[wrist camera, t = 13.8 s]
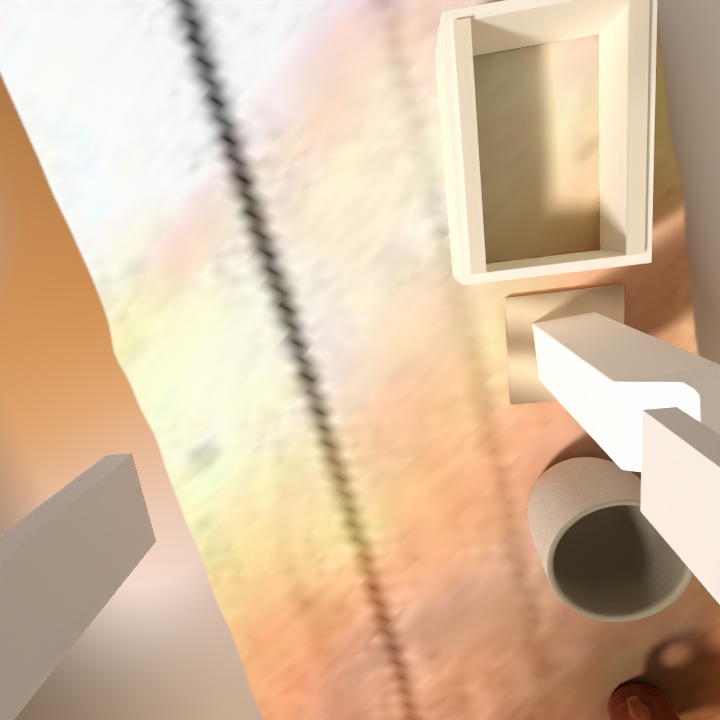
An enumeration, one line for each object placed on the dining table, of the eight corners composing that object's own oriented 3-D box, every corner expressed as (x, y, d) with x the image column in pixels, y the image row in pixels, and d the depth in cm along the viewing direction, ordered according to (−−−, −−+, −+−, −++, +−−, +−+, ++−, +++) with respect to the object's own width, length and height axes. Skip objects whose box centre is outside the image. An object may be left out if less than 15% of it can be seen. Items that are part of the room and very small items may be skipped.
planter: (576, 420, 49) (623, 472, 39) (662, 491, 51) (730, 559, 40) (493, 500, 53) (516, 567, 42) (576, 565, 54) (618, 645, 43)
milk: (538, 379, 48) (642, 499, 27) (531, 321, 47) (635, 400, 25) (601, 369, 47) (760, 484, 26) (596, 310, 46) (760, 380, 24)
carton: (434, 52, 42) (442, 9, 34) (609, 21, 40) (661, -32, 32) (452, 276, 47) (463, 285, 39) (608, 257, 45) (654, 263, 37)
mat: (504, 297, 47) (505, 298, 46) (621, 284, 45) (624, 284, 45) (510, 402, 49) (511, 404, 49) (621, 392, 48) (623, 394, 48)
